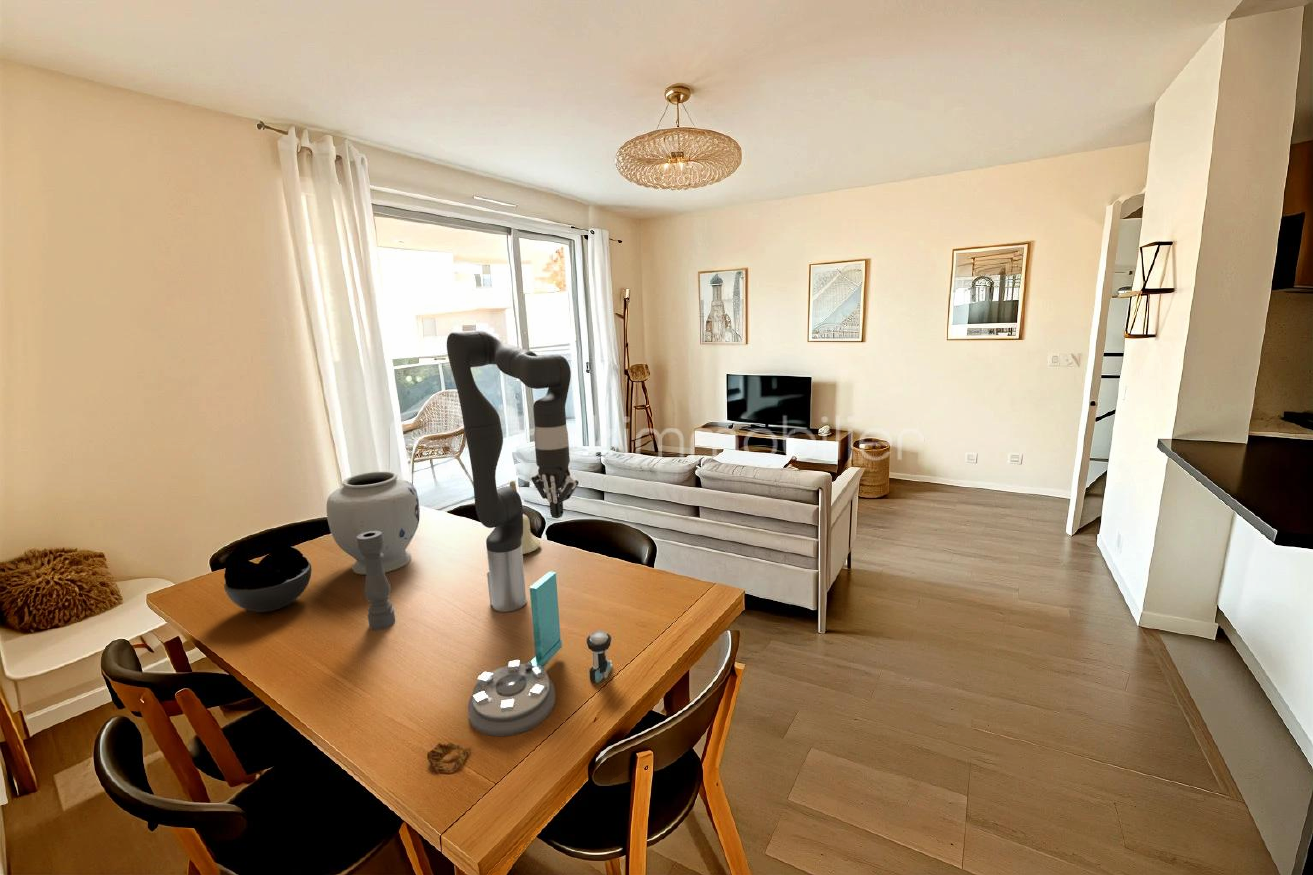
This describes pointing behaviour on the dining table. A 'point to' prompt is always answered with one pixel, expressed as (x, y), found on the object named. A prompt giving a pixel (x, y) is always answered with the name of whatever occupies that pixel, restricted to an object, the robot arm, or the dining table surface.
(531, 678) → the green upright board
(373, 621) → the candle holder
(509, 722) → the round gray base
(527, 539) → the handbell
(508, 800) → the dining table surface
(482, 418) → the robot arm
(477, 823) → the dining table surface
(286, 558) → the coal bowl
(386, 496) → the grey ceramic vase
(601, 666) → the push button
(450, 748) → the leaf
